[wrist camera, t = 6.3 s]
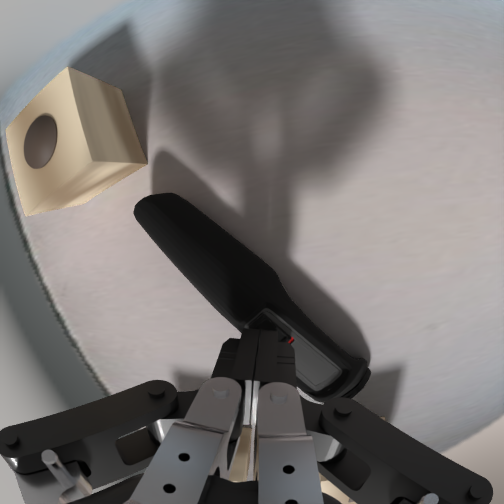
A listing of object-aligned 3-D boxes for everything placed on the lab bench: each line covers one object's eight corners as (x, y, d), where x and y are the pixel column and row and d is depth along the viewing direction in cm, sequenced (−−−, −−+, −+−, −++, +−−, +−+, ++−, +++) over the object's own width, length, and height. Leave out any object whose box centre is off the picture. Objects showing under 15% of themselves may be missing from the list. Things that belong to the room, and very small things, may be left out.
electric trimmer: (186, 172, 14) (161, 170, 11) (372, 362, 16) (385, 394, 13) (143, 222, 15) (112, 232, 12) (325, 395, 17) (330, 429, 14)
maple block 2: (251, 427, 18) (242, 483, 13) (249, 461, 19) (241, 510, 14) (184, 417, 18) (162, 468, 13) (190, 453, 19) (174, 498, 14)
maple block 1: (121, 90, 13) (65, 65, 8) (148, 164, 14) (90, 161, 9) (62, 134, 14) (3, 129, 9) (84, 203, 15) (23, 216, 10)
